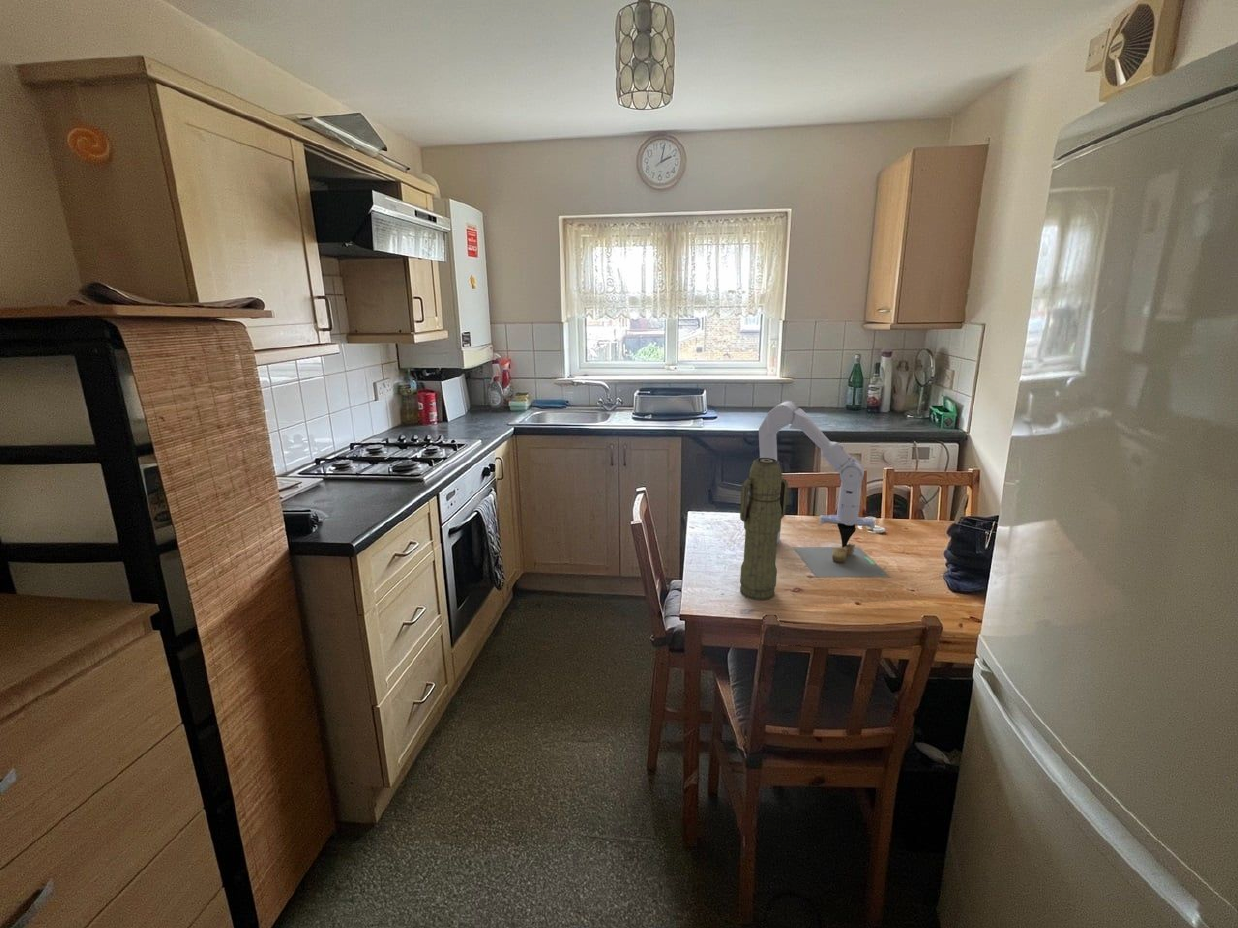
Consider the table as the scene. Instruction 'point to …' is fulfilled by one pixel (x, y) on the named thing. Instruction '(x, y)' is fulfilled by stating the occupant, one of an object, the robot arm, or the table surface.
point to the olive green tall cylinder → (761, 527)
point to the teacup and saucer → (876, 528)
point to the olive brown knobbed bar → (842, 552)
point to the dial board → (839, 563)
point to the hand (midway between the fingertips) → (843, 547)
